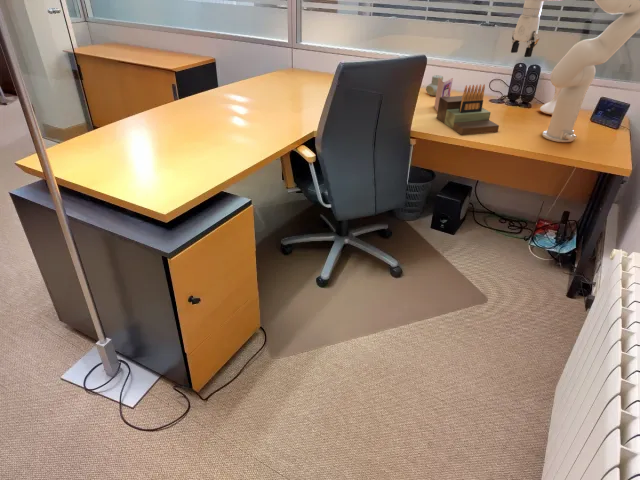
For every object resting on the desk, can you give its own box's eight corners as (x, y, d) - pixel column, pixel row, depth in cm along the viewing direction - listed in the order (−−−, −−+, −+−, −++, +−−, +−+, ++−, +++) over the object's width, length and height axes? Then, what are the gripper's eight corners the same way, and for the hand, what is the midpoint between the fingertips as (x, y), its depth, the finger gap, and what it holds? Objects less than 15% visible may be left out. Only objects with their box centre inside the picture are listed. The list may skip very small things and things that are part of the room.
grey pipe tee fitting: (423, 93, 244) (425, 74, 239) (434, 91, 247) (437, 73, 242) (435, 98, 236) (438, 79, 231) (447, 96, 239) (450, 78, 234)
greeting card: (440, 113, 214) (445, 82, 205) (426, 110, 218) (430, 80, 209) (449, 108, 221) (454, 78, 213) (436, 105, 225) (440, 75, 217)
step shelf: (497, 132, 193) (503, 109, 187) (461, 135, 189) (466, 112, 184) (469, 115, 212) (473, 94, 207) (436, 117, 208) (439, 97, 203)
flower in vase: (556, 118, 209) (574, 64, 195) (534, 112, 217) (549, 60, 203) (569, 113, 216) (586, 60, 202) (547, 107, 223) (562, 56, 209)
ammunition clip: (460, 113, 194) (465, 85, 188) (458, 111, 196) (463, 84, 189) (481, 111, 197) (487, 84, 190) (479, 110, 198) (485, 83, 191)
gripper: (511, 10, 193) (502, 51, 203) (537, 15, 179) (525, 58, 189) (525, 10, 195) (515, 50, 204) (552, 15, 181) (540, 58, 190)
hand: (520, 54), depth 197 cm, fingers open, 9 cm apart
